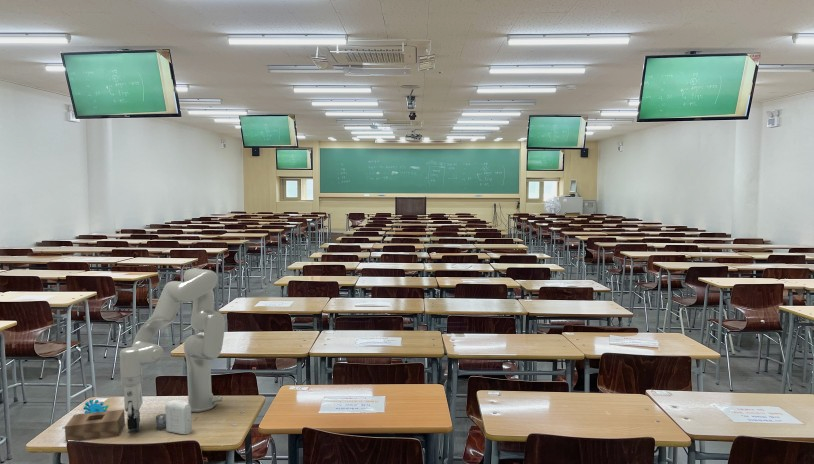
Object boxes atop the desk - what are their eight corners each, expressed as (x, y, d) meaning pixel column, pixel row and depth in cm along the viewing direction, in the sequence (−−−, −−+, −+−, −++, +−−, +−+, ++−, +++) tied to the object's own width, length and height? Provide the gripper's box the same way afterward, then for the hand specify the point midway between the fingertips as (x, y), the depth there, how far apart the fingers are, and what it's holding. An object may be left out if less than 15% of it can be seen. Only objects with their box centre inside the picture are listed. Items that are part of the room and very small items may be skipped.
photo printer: (193, 431, 222) (192, 400, 221) (185, 435, 218) (184, 403, 217) (173, 427, 226) (171, 397, 225) (164, 432, 222) (163, 400, 221)
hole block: (124, 423, 231) (124, 409, 230) (118, 435, 219) (117, 420, 219) (74, 429, 226) (74, 414, 225) (65, 442, 214) (64, 426, 214)
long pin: (140, 428, 226) (139, 403, 225) (138, 432, 222) (137, 407, 221) (129, 429, 225) (128, 404, 224) (127, 433, 221) (126, 408, 220)
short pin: (168, 425, 228) (167, 413, 228) (166, 429, 225) (166, 416, 224) (157, 426, 227) (156, 414, 227) (155, 430, 223) (155, 418, 223)
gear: (91, 421, 230) (81, 401, 233) (83, 430, 231) (73, 410, 235) (115, 415, 240) (104, 395, 243) (107, 423, 241) (97, 404, 245)
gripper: (138, 385, 215) (140, 432, 216) (145, 372, 231) (148, 416, 232) (116, 387, 213) (118, 435, 214) (125, 374, 229) (127, 418, 230)
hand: (133, 424), depth 223 cm, fingers open, 5 cm apart
